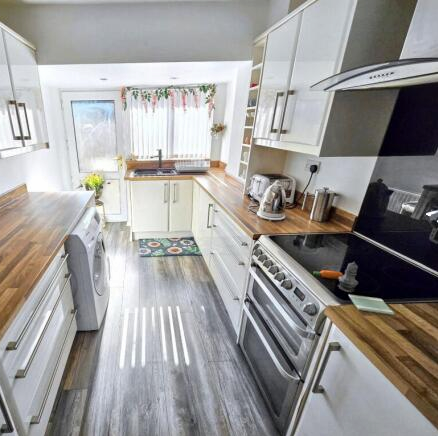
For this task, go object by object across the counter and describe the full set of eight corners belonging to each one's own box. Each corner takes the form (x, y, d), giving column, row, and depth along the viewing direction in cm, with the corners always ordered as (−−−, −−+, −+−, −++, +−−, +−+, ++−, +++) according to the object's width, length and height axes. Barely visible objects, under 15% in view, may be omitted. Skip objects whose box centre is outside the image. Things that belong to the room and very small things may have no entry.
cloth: (348, 295, 90) (348, 294, 90) (380, 299, 87) (381, 298, 87) (358, 309, 83) (358, 308, 83) (394, 315, 80) (395, 314, 80)
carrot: (346, 277, 100) (348, 271, 99) (350, 282, 97) (352, 275, 96) (312, 273, 104) (313, 267, 103) (314, 277, 101) (315, 271, 100)
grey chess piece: (353, 294, 90) (362, 267, 86) (334, 287, 94) (342, 261, 90) (357, 288, 94) (366, 261, 89) (338, 281, 98) (346, 256, 94)
